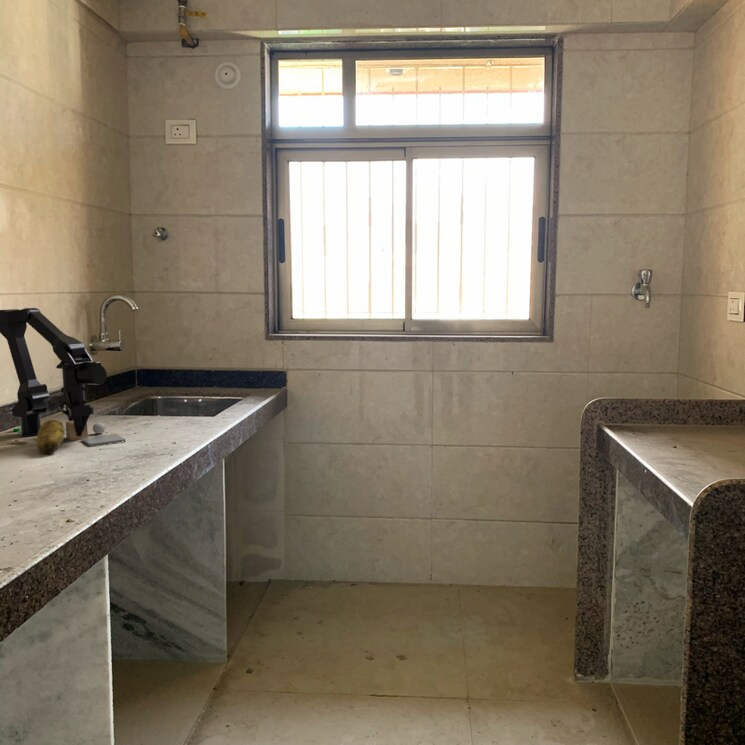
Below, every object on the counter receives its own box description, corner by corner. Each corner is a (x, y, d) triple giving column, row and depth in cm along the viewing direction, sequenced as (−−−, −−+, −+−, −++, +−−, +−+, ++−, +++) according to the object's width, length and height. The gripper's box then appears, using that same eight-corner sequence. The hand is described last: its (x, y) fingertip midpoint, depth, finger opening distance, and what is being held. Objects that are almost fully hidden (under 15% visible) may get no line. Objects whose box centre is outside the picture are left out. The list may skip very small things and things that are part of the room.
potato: (25, 456, 194) (22, 427, 193) (46, 445, 207) (44, 418, 206) (55, 455, 194) (53, 426, 193) (74, 445, 207) (73, 417, 206)
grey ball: (91, 433, 222) (90, 422, 222) (103, 432, 225) (102, 420, 224) (94, 435, 220) (94, 424, 219) (106, 434, 222) (106, 422, 221)
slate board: (81, 440, 212) (81, 438, 212) (115, 436, 218) (115, 433, 218) (90, 446, 204) (89, 444, 204) (125, 441, 210) (125, 439, 210)
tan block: (66, 437, 217) (65, 421, 216) (83, 435, 220) (82, 419, 219) (70, 440, 213) (69, 424, 212) (87, 438, 216) (86, 422, 215)
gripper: (38, 382, 217) (41, 433, 219) (51, 389, 202) (55, 443, 204) (76, 379, 224) (79, 428, 226) (92, 386, 209) (95, 438, 211)
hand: (76, 434), depth 216 cm, fingers closed on tan block, 5 cm apart
